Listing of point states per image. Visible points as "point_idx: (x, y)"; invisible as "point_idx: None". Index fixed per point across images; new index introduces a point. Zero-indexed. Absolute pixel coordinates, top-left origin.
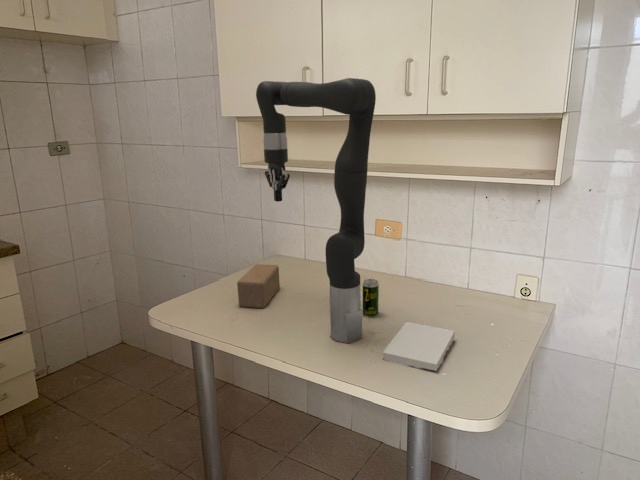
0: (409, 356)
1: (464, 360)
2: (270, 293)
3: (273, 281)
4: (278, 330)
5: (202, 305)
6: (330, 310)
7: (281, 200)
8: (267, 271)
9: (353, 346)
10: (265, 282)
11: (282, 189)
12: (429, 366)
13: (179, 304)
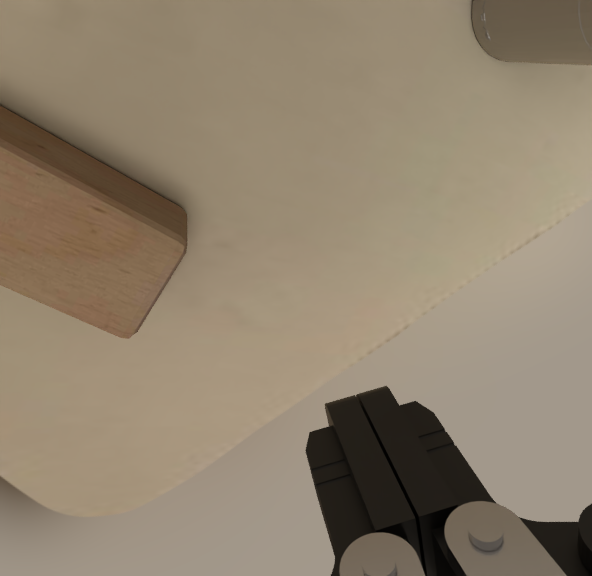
0: None
1: None
2: (113, 175)
3: (53, 154)
4: (374, 206)
5: (79, 399)
6: (563, 63)
7: (387, 392)
8: (30, 191)
9: None
10: (161, 226)
11: (485, 501)
12: None
13: (46, 461)
